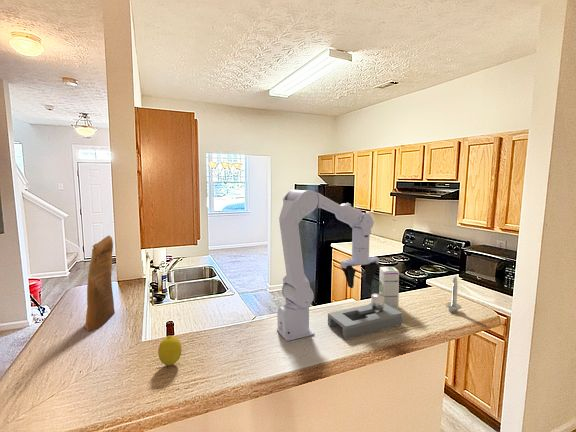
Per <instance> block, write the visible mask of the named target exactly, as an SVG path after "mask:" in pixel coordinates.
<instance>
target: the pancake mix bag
mask: <svg viewBox="0 0 576 432" xmlns="http://www.w3.org/2000/svg"><path fill="white" fill-rule="evenodd" d="M113 247H114V242H113V237H112V236H110V235H107V236H105V237H103V238H102V239H101V240H100V241H99V242H97V243H95V244H93V245H92V249H91V257H90V263H89V267H88V272H87V286H86V289H87V290H86V305H87V307H86V314H85V330H87V332H92V331H94V330H97V329H100V328H101V327H103V326H104V325H105V323H106V322H107V321H109V319H110V318H111V317H112V316H113V315H114V314H115V303H114V295H113V294H114V293H113V283H112V267H113V249H114V248H113Z"/></svg>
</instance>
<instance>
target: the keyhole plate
mask: <svg viewBox="0 0 576 432" xmlns="http://www.w3.org/2000/svg"><path fill="white" fill-rule="evenodd" d="M403 314H404V312H401V311H400V310H399V309H398V310H396V309H394V308H392V307H390V306H389V305H387V304H385V303H384V309H383V310H380V312H378V313H375V310H374V309H372V308H371V303H369V304H365V305H359V306H356V307H349V308H346V309H342V310H337V311H331V312H328V313H327V326H328V327H330V328H332V327H335V326H340V327H342V338H344V339H345V340H347V339H352V338H355V337H360V336H364V335H368V334H371V333H376V332H379V331H383V330H386V329H391V328H394V327H397V326H398V327H399V326H402V325H403Z"/></svg>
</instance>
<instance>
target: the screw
mask: <svg viewBox="0 0 576 432" xmlns="http://www.w3.org/2000/svg"><path fill="white" fill-rule="evenodd" d="M451 285H452V286H451V294H450V295H451V298H450V299H451V300H450V302H447V303H446V304H445V307H446V308H448V311H449V312H450V313H452V314H453V313H454V314H457V313H458V312H459V311H458V310H462V306H461V305H460V304H459V303H457V302H458V285H459V283H458V277H457V276H456V275H455V276H453V279H452V283H451Z"/></svg>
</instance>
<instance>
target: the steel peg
mask: <svg viewBox="0 0 576 432" xmlns="http://www.w3.org/2000/svg"><path fill="white" fill-rule="evenodd" d="M370 298H371V300H370V301H371V302H370V304H371V308H372V309H374V310H375V313H378V312H380V310H383V309H384V295H382V294H379V293H375V292H374V293H372V294H371V297H370Z"/></svg>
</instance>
